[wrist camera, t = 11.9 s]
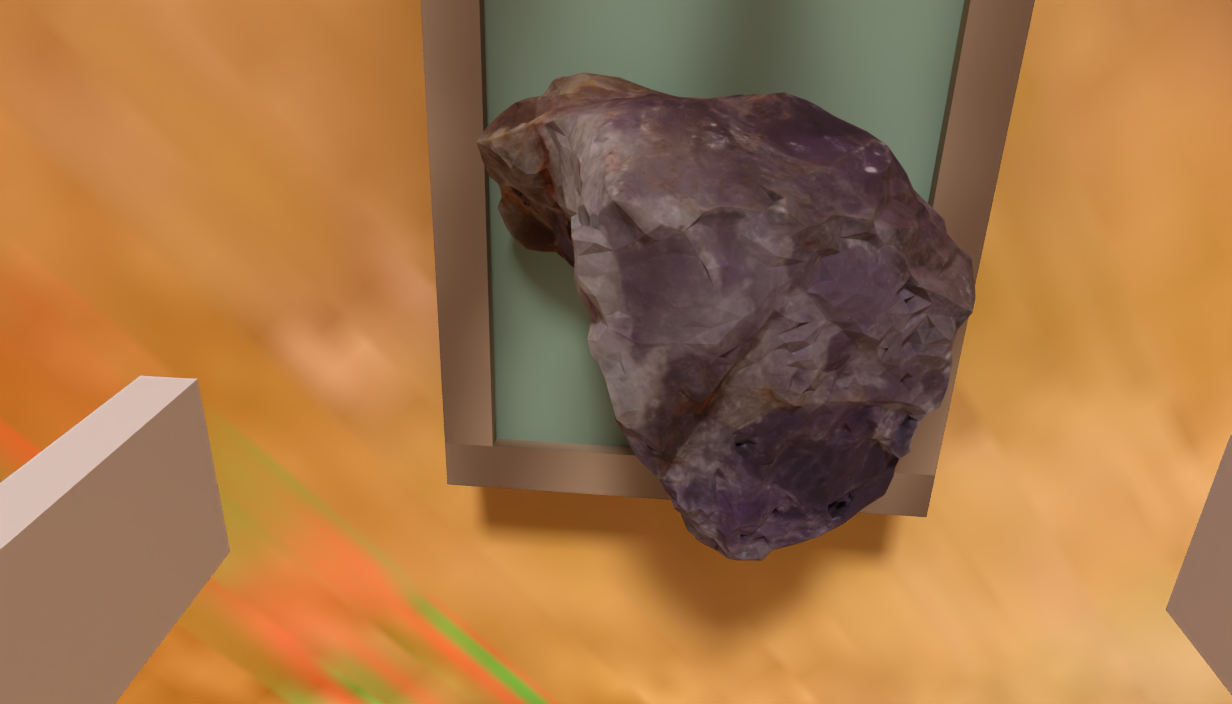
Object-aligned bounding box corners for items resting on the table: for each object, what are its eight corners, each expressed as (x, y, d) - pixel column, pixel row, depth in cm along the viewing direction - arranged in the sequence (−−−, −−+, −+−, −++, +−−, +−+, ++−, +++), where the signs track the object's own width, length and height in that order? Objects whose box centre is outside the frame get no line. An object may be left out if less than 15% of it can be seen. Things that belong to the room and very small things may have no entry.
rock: (653, 433, 28) (957, 308, 25) (658, 650, 21) (1084, 507, 18) (450, 120, 23) (808, -82, 20) (361, 265, 15) (905, -23, 13)
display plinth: (474, 427, 31) (447, 484, 27) (453, -108, 24) (413, -123, 20) (898, 455, 30) (926, 517, 26) (1001, -93, 23) (1057, -106, 20)
